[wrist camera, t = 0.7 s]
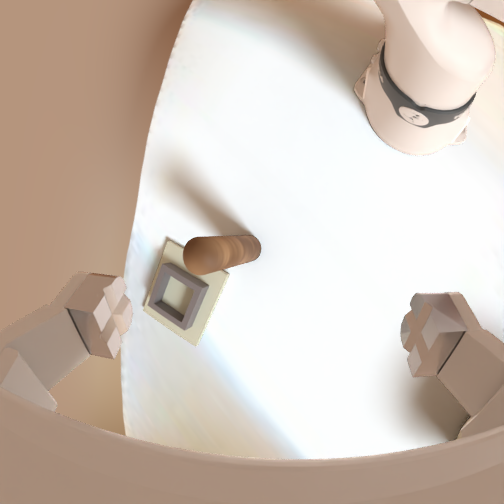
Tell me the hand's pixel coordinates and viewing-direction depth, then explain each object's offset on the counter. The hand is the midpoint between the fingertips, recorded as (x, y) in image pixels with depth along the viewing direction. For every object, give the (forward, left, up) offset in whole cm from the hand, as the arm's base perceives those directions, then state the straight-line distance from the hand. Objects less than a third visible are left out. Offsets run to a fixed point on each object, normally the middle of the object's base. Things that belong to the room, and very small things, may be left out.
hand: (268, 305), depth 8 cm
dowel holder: (+18, -18, -37) cm, 45 cm away
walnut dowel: (+6, -11, -37) cm, 39 cm away
